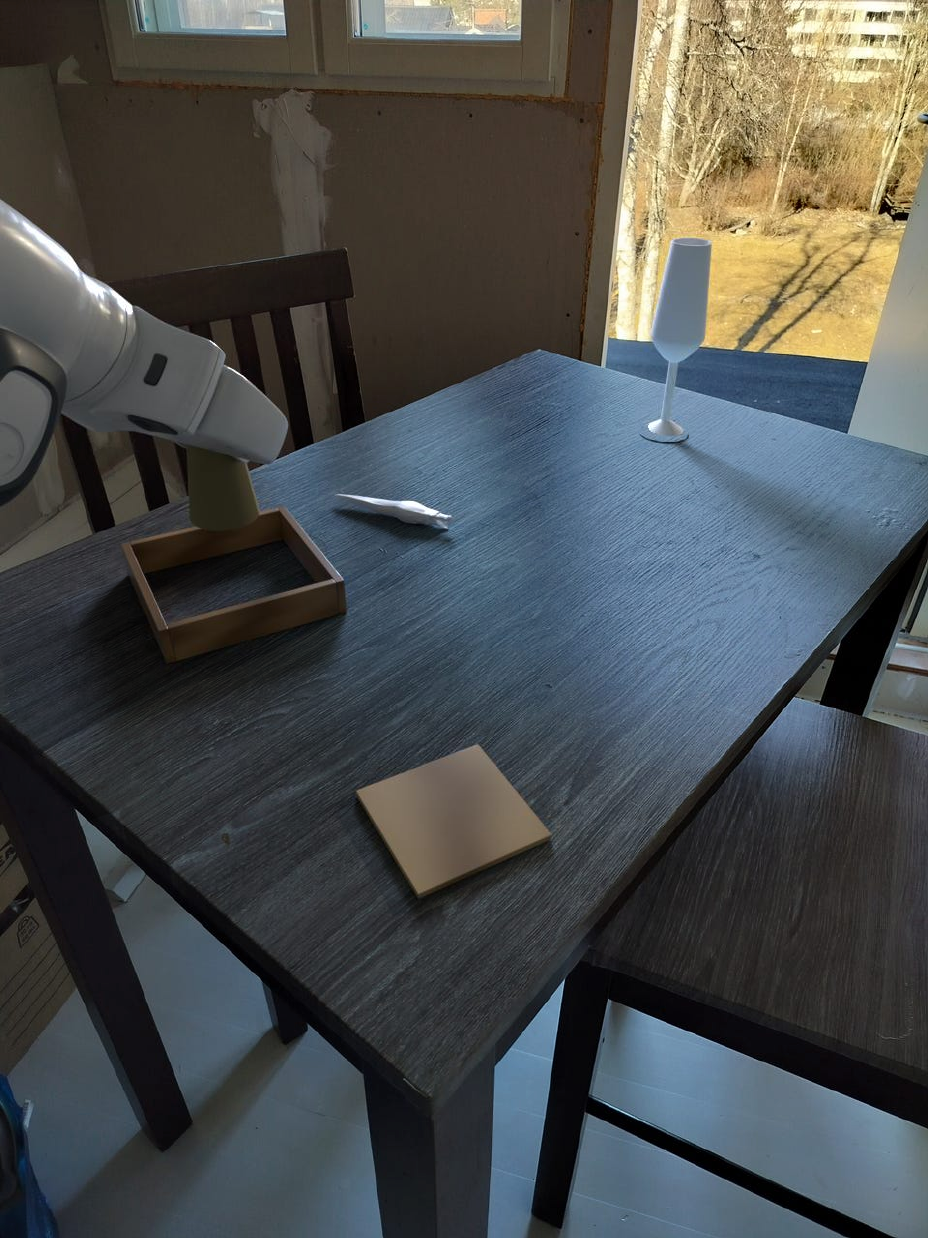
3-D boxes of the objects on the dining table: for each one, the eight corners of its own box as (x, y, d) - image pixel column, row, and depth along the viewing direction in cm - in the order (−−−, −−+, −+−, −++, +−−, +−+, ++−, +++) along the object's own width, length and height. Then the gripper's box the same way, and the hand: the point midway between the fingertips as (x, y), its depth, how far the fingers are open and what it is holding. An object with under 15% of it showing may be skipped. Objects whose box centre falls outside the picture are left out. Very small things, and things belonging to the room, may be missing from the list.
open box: (166, 664, 73) (158, 631, 71) (128, 573, 85) (120, 543, 83) (347, 612, 79) (344, 580, 77) (287, 534, 91) (284, 505, 89)
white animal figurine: (457, 524, 93) (457, 509, 92) (447, 535, 91) (447, 519, 90) (341, 497, 98) (340, 482, 97) (328, 506, 96) (327, 491, 95)
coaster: (418, 899, 53) (418, 894, 53) (355, 795, 60) (355, 790, 60) (551, 839, 57) (552, 834, 57) (478, 748, 64) (478, 743, 64)
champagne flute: (634, 439, 113) (659, 245, 99) (641, 420, 118) (666, 234, 104) (686, 445, 111) (718, 249, 97) (691, 426, 116) (722, 237, 103)
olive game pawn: (174, 522, 73) (149, 398, 67) (216, 494, 78) (196, 375, 71) (234, 536, 71) (214, 409, 65) (273, 505, 76) (258, 385, 70)
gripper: (-17, 380, 62) (115, 457, 75) (197, 433, 55) (304, 508, 67) (18, 303, 63) (142, 392, 76) (233, 345, 55) (332, 436, 68)
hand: (220, 447), depth 71 cm, fingers closed on olive game pawn, 4 cm apart
